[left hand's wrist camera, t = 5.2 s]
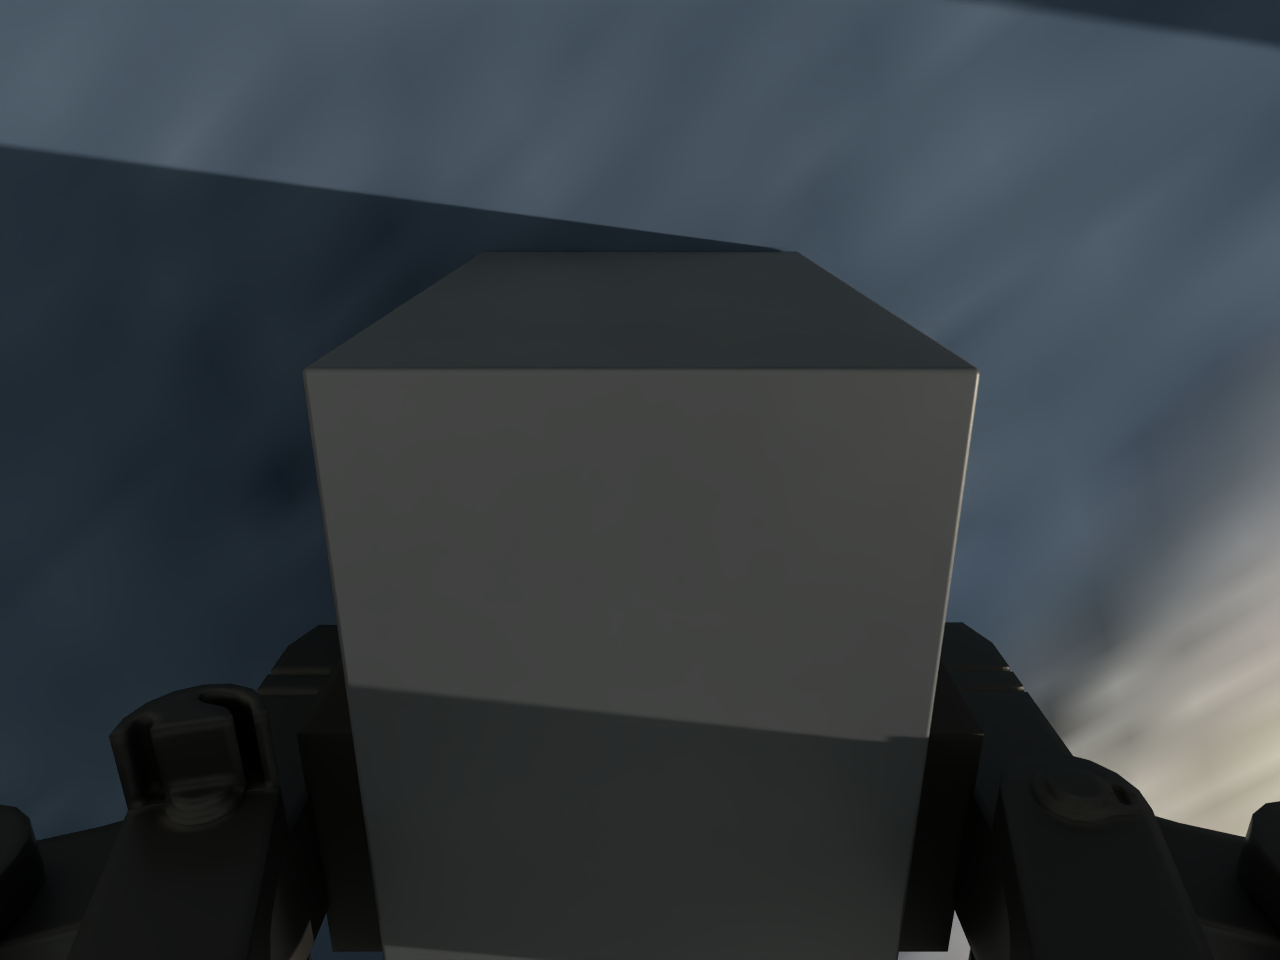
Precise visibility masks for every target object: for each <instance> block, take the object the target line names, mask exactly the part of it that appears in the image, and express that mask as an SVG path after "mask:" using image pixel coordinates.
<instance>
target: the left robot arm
mask: <svg viewBox="0 0 1280 960" xmlns="http://www.w3.org/2000/svg"><path fill="white" fill-rule="evenodd" d="M1009 668H1010V667H1009V666H1008V664H1007V663H1006V661H1005V660H1004V659H1003V657H1002V656H1001V654H1000V653H999V652H998V650H997V649H996V647H995V646H994V644H993V643H992V642H990V641H989V640H987V639H986V638H984V637H983V636H981V635H980V634H978V633H977V632H975V631H974V630H973V629H971V628H970V627H968V626H967V625H965V624H964V623H962V622H945V626H944V633H943V640H942V648H941V655H940V662H939V669H938V676H937V683H936V690H935V697H934V704H933V712H932V719H931V726H930V733H929V740H928V747H927V754H926V761H925V768H924V775H923V783H922V790H921V797H920V804H919V811H918V818H917V825H916V832H915V839H914V847H913V854H912V861H911V868H910V875H909V882H908V889H907V896H906V903H905V910H904V918H903V925H902V932H901V939H900V946H899V952H948V946H949V940H950V934H951V928H952V922H953V916H954V910H955V911H956V914H957V916H958V919H959V921H960V923H961V926H962V928H963V931H964V933H965V936H966V938H967V940H968V943H969V945H970V954H969V959H968V960H1280V801H1279V802H1272V803H1266V804H1265V805H1263V806H1262V807H1261V808H1260V809H1259V810H1257V811H1256V812H1255V813H1254V814H1253V815H1252V818H1251V821H1250V825H1249V828H1248V831H1247V834H1246V837H1242V836H1237V835H1232V834H1228V833H1223V832H1219V831H1214V830H1209V829H1205V828H1200V827H1195V826H1191V825H1186V824H1182V823H1178V822H1174V821H1171V820H1167V819H1163V818H1160V817H1156V816H1155V815H1154V813H1153V810H1152V808H1151V807H1150V805H1149V804H1148V803H1147V801H1146V800H1145V798H1144V797H1143V796H1142V794H1141V793H1140V791H1139V790H1138V789H1137V788H1135V787H1134V786H1133V785H1131V784H1130V783H1129V782H1128V781H1126V780H1125V779H1124V778H1122V777H1121V776H1120V775H1118V774H1117V773H1115V772H1113V771H1111V770H1109V769H1107V768H1105V767H1103V766H1101V765H1098V764H1096V763H1094V762H1092V761H1090V760H1086V759H1082V758H1078V757H1074V756H1073V755H1072V754H1071V752H1070V751H1069V750H1068V748H1067V747H1066V745H1065V744H1064V743H1063V741H1062V740H1061V738H1060V737H1059V736H1058V734H1057V733H1056V731H1055V730H1054V729H1053V727H1052V726H1051V724H1050V723H1049V722H1048V720H1047V719H1046V717H1045V716H1044V715H1043V713H1042V712H1041V710H1040V709H1039V708H1038V706H1037V705H1036V703H1035V702H1034V701H1033V699H1032V698H1031V696H1030V695H1029V694H1028V692H1024V687H1023V685H1022V684H1021V682H1020V681H1019V680H1018V678H1017V677H1016V675H1015V674H1014V673H1013V672H1010V669H1009ZM109 738H110V742H111V745H112V749H113V753H114V757H115V761H116V765H117V769H118V773H119V776H120V780H121V784H122V788H123V792H124V796H125V800H126V804H127V807H128V812H127V814H126V817H125V819H124V820H123V821H120V822H116V823H113V824H109V825H106V826H102V827H97V828H93V829H88V830H84V831H79V832H74V833H70V834H65V835H61V836H56V837H51V838H47V839H42V840H38V841H36V839H35V835H34V832H33V829H32V826H31V822H30V819H29V817H27V816H26V815H25V814H24V813H22V812H21V811H20V810H19V809H18V808H16V807H12V806H5V805H0V960H312V959H311V954H310V951H311V948H312V946H313V944H314V941H315V939H316V936H317V934H318V931H319V929H320V927H321V924H322V922H323V919H324V917H325V914H326V913H327V919H328V925H329V931H330V937H331V943H332V949H333V951H382V943H381V936H380V929H379V922H378V915H377V907H376V900H375V893H374V886H373V879H372V871H371V864H370V857H369V850H368V843H367V835H366V828H365V821H364V814H363V807H362V799H361V792H360V785H359V778H358V771H357V764H356V756H355V749H354V742H353V735H352V728H351V720H350V713H349V706H348V699H347V692H346V684H345V677H344V670H343V663H342V656H341V648H340V641H339V634H338V627H337V625H318V626H317V627H315V628H314V629H312V630H311V631H309V632H308V633H306V634H305V635H304V636H302V637H301V638H299V639H298V640H296V641H295V642H293V643H292V644H290V645H289V646H288V647H287V649H286V650H285V651H284V653H283V654H282V656H281V657H280V658H279V660H278V661H277V663H276V664H275V666H274V667H273V668H272V670H271V675H267V677H266V678H265V680H264V681H263V682H262V684H261V685H260V687H259V688H258V690H257V692H256V691H254V690H253V689H251V688H247V687H242V686H238V685H234V684H208V685H200V686H196V687H191V688H187V689H182V690H178V691H174V692H172V693H169V694H167V695H165V696H162V697H160V698H157V699H155V700H152V701H150V702H148V703H146V704H144V705H143V706H141V707H140V708H138V709H137V710H135V711H134V712H132V713H131V714H129V715H128V716H126V717H125V718H123V720H122V721H121V722H120V723H119V725H118V726H117V727H116V728H115V729H114V731H113V732H112V733H111V734H110V735H109Z"/></svg>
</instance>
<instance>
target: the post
mask: <svg viewBox="0 0 1280 960" xmlns="http://www.w3.org/2000/svg"><path fill="white" fill-rule="evenodd" d="M302 375H303V382H304V390H305V397H306V404H307V411H308V418H309V426H310V433H311V440H312V447H313V454H314V461H315V469H316V476H317V483H318V490H319V497H320V505H321V512H322V519H323V526H324V533H325V541H326V548H327V555H328V562H329V569H330V577H331V584H332V591H333V598H334V605H335V613H336V620H337V627H338V634H339V641H340V648H341V656H342V663H343V670H344V677H345V684H346V692H347V699H348V706H349V713H350V720H351V728H352V735H353V742H354V749H355V756H356V764H357V771H358V778H359V785H360V792H361V799H362V807H363V814H364V821H365V828H366V835H367V843H368V850H369V857H370V864H371V871H372V879H373V886H374V893H375V900H376V907H377V915H378V922H379V929H380V936H381V943H382V951H383V958H384V960H898V953H899V946H900V939H901V932H902V925H903V918H904V910H905V903H906V896H907V889H908V882H909V875H910V868H911V861H912V854H913V847H914V839H915V832H916V825H917V818H918V811H919V804H920V797H921V790H922V783H923V775H924V768H925V761H926V754H927V747H928V740H929V733H930V726H931V719H932V712H933V704H934V697H935V690H936V683H937V676H938V669H939V662H940V655H941V648H942V640H943V633H944V626H945V619H946V612H947V605H948V598H949V591H950V584H951V577H952V569H953V562H954V555H955V548H956V541H957V534H958V527H959V520H960V513H961V505H962V498H963V491H964V484H965V477H966V470H967V463H968V456H969V449H970V442H971V434H972V427H973V420H974V413H975V406H976V399H977V392H978V385H979V378H980V372H979V369H978V368H976V367H975V366H973V365H972V364H970V363H969V362H967V361H965V360H964V359H962V358H961V357H959V356H958V355H956V354H955V353H953V352H952V351H950V350H948V349H947V348H945V347H944V346H942V345H941V344H939V343H938V342H936V341H935V340H933V339H931V338H930V337H928V336H927V335H925V334H924V333H922V332H921V331H919V330H918V329H916V328H914V327H913V326H911V325H910V324H908V323H907V322H905V321H904V320H902V319H900V318H899V317H897V316H896V315H894V314H893V313H891V312H890V311H888V310H887V309H885V308H883V307H882V306H880V305H879V304H877V303H876V302H874V301H873V300H871V299H870V298H868V297H866V296H865V295H863V294H862V293H860V292H859V291H857V290H856V289H854V288H853V287H851V286H849V285H848V284H846V283H845V282H843V281H842V280H840V279H839V278H837V277H836V276H834V275H832V274H831V273H829V272H828V271H826V270H825V269H823V268H822V267H820V266H818V265H817V264H815V263H814V262H812V261H811V260H809V259H808V258H806V257H805V256H803V255H801V254H800V253H798V252H482V253H480V254H479V255H477V256H476V257H474V258H473V259H471V260H469V261H468V262H466V263H465V264H463V265H462V266H460V267H459V268H457V269H456V270H454V271H453V272H451V273H450V274H448V275H447V276H445V277H444V278H442V279H440V280H439V281H437V282H436V283H434V284H433V285H431V286H430V287H428V288H427V289H425V290H424V291H422V292H421V293H419V294H418V295H416V296H414V297H413V298H411V299H410V300H408V301H407V302H405V303H404V304H402V305H401V306H399V307H398V308H396V309H395V310H393V311H392V312H390V313H388V314H387V315H385V316H384V317H382V318H381V319H379V320H378V321H376V322H375V323H373V324H372V325H370V326H369V327H367V328H366V329H364V330H362V331H361V332H359V333H358V334H356V335H355V336H353V337H352V338H350V339H349V340H347V341H346V342H344V343H343V344H341V345H340V346H338V347H336V348H335V349H333V350H332V351H330V352H329V353H327V354H326V355H324V356H323V357H321V358H320V359H318V360H317V361H315V362H314V363H312V364H310V365H309V366H307V367H306V368H304V370H303V373H302Z"/></svg>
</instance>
